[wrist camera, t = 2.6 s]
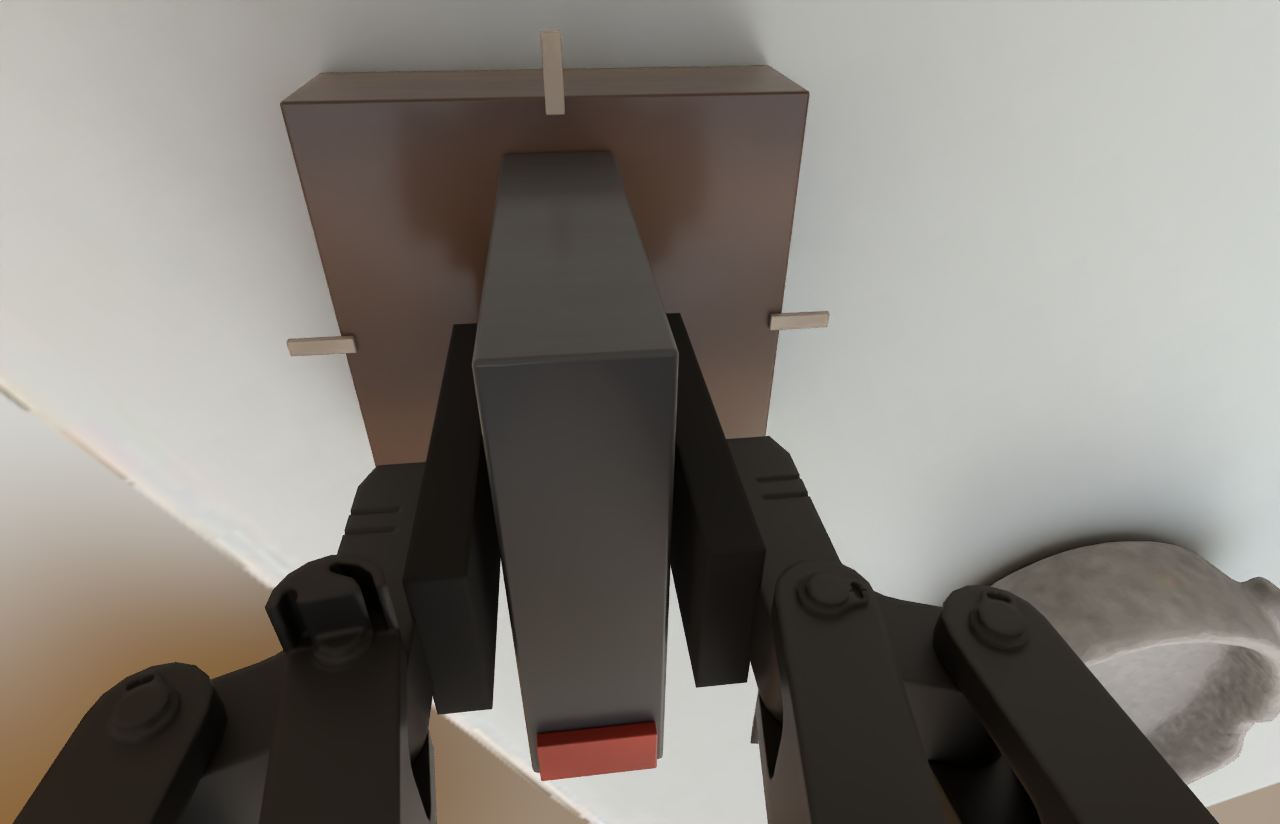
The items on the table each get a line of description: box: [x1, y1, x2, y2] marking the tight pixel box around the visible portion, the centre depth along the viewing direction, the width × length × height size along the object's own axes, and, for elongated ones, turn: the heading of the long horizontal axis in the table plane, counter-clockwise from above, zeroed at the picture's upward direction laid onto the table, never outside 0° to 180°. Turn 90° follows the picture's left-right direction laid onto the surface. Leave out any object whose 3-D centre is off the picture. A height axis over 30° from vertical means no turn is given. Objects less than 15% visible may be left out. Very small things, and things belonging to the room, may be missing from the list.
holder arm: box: [472, 151, 679, 781], centre depth 13 cm, size 8×2×8 cm, turn 0°
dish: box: [991, 541, 1280, 785], centre depth 29 cm, size 14×14×5 cm
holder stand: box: [280, 31, 829, 467], centre depth 18 cm, size 12×12×3 cm
